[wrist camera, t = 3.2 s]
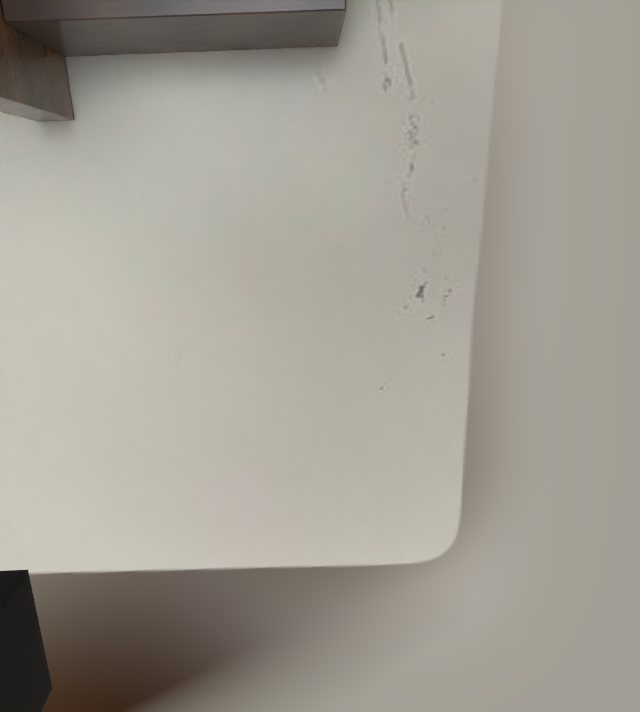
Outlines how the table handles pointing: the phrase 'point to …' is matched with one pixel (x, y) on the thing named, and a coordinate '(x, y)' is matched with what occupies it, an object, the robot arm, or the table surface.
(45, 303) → the table surface
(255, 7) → the case
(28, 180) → the table surface
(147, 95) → the table surface
